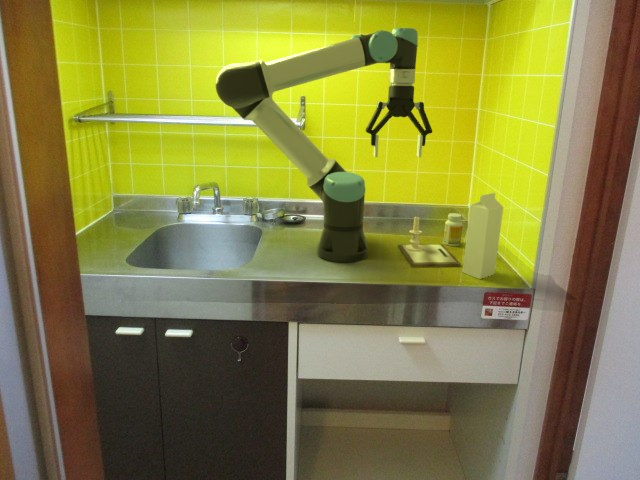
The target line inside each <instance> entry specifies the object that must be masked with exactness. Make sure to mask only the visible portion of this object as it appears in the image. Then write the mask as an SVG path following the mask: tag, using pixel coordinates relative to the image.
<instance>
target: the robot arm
mask: <svg viewBox="0 0 640 480" xmlns="http://www.w3.org/2000/svg"><path fill="white" fill-rule="evenodd" d="M418 36H419V35H418V31H417V29H415V28H411V27H397V28H393V29H392V30H391V32H390V31H389V30H383V29H382V30H378V31H377V30H376V31H375V32H373V33H369V34H354V35H352V36H351V38H350V39H347V40H343V41H341V42H340V41H339V42H335V43H333V44H332V43H331V44H329V45H325V46H322V47H318V48H314V49H310V50H307V51H303V52H300V53H295V54H293V55H289V56H285V57H282V58H278V59H274V60H270V61H268V62H267V61H263V60H262V59H259V60H254V61H250V62H243V63H231V64H228V65H226V66H224V67H223V68H222V69H220V71H219V73H218V74H217V75H216V80H215V92H216V93H217V96H218V98H219V100H221V102H222V103H223V104H225V105H226V106H228V107H230V108H232V109H233V110H234V112H236V114H238V115H239V117H240V118H242V119H243V121H252V123H254V124H255V125H256V126H257V128H258V129H259V130H261V132H262V133H263V134H264V135H265V136H266V137H267V138H268V139H269V140H270V141H271V142H272V143H273V144H274V145H275V146H276V147H277V148H278V150H280V151H281V152H282V154H283V155H285V157H286V158H288V159H287V160H289V161H290V162H291V163H292V164H293V165H294V166H295V168H297V169H298V170H299V171H300V172H301V173H302V174H303V175H304V177H306V179H307V180H306V185H307V187H308V188H309V189H310V190H312V192H313V193H314V194H315V195H316V196H317V197H318V198H319V199H320V201H322V204H323V226H322V227H323V229H322V231H321V234H320V237H319V241H318V242H317V247H316V254H317V256H318V257H319V256H320V258H321V259H323V258H324V259H323V260H325V259H327V260H326V261H329V262H334V261H335V263H355V262H359V261H363V260H365V259H366V258H367V257H368V255H369V245H368V242H367V238H366V236H365V231H364V219H365V218H364V215H365V197H366V196H365V195H366V183H365V179H364V178H363V176H361V175H360V174H357V173H353V172H350V171H349V172H348V171H347V170H345V169H344V167H342V165H340V163H339V162H338V161H337V160H336V159H335V158H328V157H326V155H324V153H322V151H321V150H320V149H319V148H318V147H317V146H316V145H315V143H313V142H312V141H311V139H310V138H309V137H308V136H307V135H306V134H305V133H304V131H302V130H301V129H300V127H298V125H297V124H296V123H295V122H294V121H293V120H292V119H291V118H290V117H289V115H287V113H286V112H285V111H284V110H283V109H282V108H281V107H280V106H279V105H278V104H277V103H276V102H275V100H274V99H273V94H274V93H276V92H279V91H282V90H285V89H288V88H289V89H290V88H292V87H296V86H300V85H303V84H307V83H310V82H314V81H318V80H321V79H326V78H329V77H332V76H336V75H339V74H344V73H346V72H350V71H354V70H357V69H361V68H364V67H368V66H369V67H370V66H372V65H375V64H389V78H388V83H389V84H390V85H389V86H388V96H387V101H386V102H384V101H383V102H382V101H379V100H378V101H377V104H376V109H375V111H374V113H373V115H372V116H371V119H370V120H369V122H368V124H367V126H366V127H365V132H366V134H370V145H371V146H373V157H374V158H378V157H379V153H378V152H379V138H380V137H379V135H378V133H379V132H380V130H381V129H382V128H383V127H384V126H385V125H386V124H387V122H389V121H390V119H391V118H392V117H394V118H400V117H401V118H406V117H408V118H409V120H410V121H411V123H413V125H414V126H415V128H416V129H417V130H418V132H419V134H418V135H417V143H416V144H417V146H416V157H417V158H422V152H423V151H422V150H423V147H425V146H426V140H427V139H426V137H427V135H429V134H432V133H433V129H432V126H431V124H430V121H429V118H428V116H427V114H426V111H425V104H424V102H422V101H418V102H415V100H414V97H415V96H414V95H415V86H414V84H415V82H416V69H417V68H416V65H417V57H418V56H417V53H418V47H419V45H418V44H419V43H418V42H419V41H418V39H419V38H418ZM385 108H387V110H388V111H387V112H386V114H385V115H384V116H383V117H382V119H381V120H380V121H379V122H378V123H376V122H377V120H378V119H379V117H380V114H381V113H382V111H383V110H384V109H385ZM414 108H415V109H416V110H417V111H418V113H419V114H418V115H419V116H420V119H421V121H422V124H423V126H424V127H423V126H422V124H421V123H420V121H418V119H417V118H416V117H415V115H414V114H413V112H412V111H413V110H414ZM375 124H376V125H375ZM373 127H374V128H373ZM424 128H425V129H424Z"/></svg>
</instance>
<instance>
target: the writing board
mask: <svg viewBox="0 0 640 480" xmlns="http://www.w3.org/2000/svg"><path fill="white" fill-rule="evenodd" d="M410 244H411V243H410ZM410 244H409V243H408V244H398V245H397V248H398V249H399V251H400V252H401V253H402V255H403V257H404V258H405V259H406V261H407V262H408V264H409V266H410V267H411V268H430V267H431V268H433V267H436V268H438V267H442V268H444V267H448V268H449V267H461V266H462V264H461V262H459V260H458V259H457V257H455V256H454V255H453V253H451V251H449V249H447V248H446V246H445V244H444V243H434V244H433V243H430V244H429V243H424V244H422V243H419V244H418V245H420V246H422V247H423V250H422V251H409V250H407V249H406V246H407V245H410Z"/></svg>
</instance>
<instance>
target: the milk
mask: <svg viewBox="0 0 640 480" xmlns="http://www.w3.org/2000/svg"><path fill="white" fill-rule="evenodd" d="M503 212H504V206H503V205H502V204H501V203H500V202H499V201H498V200H497V199H496V192H493V193H486V194H481V195H480V200H479V201H477V202H474V203H472V204H470V205H469V212H468V222H467V228H466V229H467V230H466V238H465V239H466V241H465V248H464V257H463V266H462V273H463V274H466V275H468V276H470V275H471V276H470V277H473V278H476V279H478V278H479V279H478V280H482V278H483V279H485V278H484V277H486V278H488V277H487V276H489V277H491V275H492V276H494V275H495V273H496V272H495V271H496V266H497V257H498V250H499V243H500V238H501V237H500V236H501V228H502V227H501V226H502V220H503V214H504V213H503ZM493 274H494V275H493Z"/></svg>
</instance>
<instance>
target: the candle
mask: <svg viewBox="0 0 640 480" xmlns="http://www.w3.org/2000/svg"><path fill="white" fill-rule="evenodd" d="M408 233H410V234H411V239H409V243H410V245H407V246H406V249H407V250H409V251H422V250H423V247H422V246H420V245H418V244H421V241H420V234H423V231H422V230H420V217H418V216H414V218H413V228H412V229H410V230H409V232H408Z"/></svg>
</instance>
